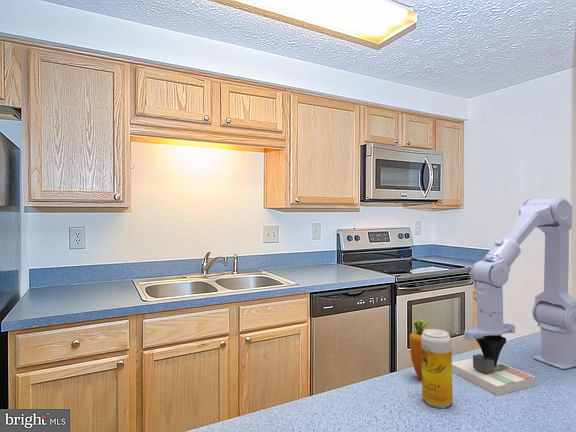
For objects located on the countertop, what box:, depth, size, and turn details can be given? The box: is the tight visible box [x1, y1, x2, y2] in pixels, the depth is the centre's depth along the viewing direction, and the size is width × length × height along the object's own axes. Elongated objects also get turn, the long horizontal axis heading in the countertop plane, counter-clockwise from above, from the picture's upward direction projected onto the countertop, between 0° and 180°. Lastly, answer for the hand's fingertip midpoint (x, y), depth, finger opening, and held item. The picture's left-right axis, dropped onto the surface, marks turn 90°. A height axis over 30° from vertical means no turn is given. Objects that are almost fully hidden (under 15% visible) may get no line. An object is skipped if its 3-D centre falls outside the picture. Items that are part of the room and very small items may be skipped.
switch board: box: [452, 357, 537, 396], centre depth 90 cm, size 12×14×2 cm
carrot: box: [409, 317, 429, 380], centre depth 90 cm, size 5×5×15 cm
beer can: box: [421, 328, 454, 409], centre depth 79 cm, size 6×6×15 cm
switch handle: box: [472, 353, 494, 374], centre depth 89 cm, size 2×4×5 cm, turn 20°
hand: (490, 365), depth 90 cm, fingers closed
